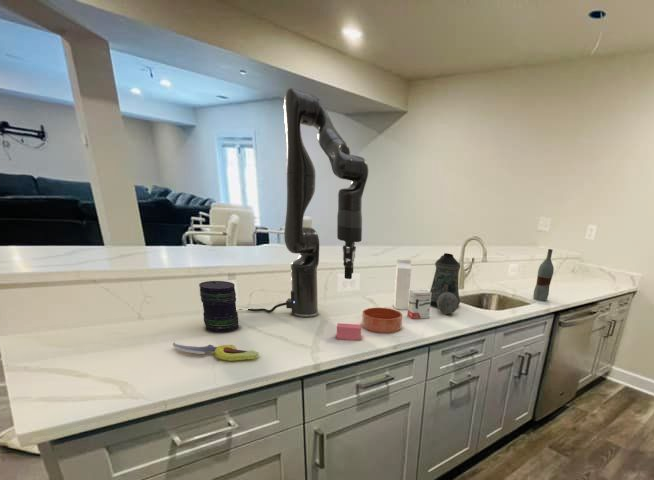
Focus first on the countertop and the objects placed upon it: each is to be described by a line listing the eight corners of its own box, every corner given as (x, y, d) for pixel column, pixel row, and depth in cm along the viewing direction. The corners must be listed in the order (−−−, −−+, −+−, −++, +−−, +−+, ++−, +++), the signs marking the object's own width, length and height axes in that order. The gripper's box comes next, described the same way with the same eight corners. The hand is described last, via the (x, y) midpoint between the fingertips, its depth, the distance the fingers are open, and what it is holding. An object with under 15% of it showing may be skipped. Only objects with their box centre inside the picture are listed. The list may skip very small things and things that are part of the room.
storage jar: (243, 330, 129) (239, 287, 124) (210, 335, 123) (204, 289, 117) (233, 321, 135) (228, 280, 130) (200, 325, 128) (194, 281, 123)
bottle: (548, 302, 231) (559, 251, 219) (533, 300, 230) (544, 249, 219) (545, 298, 239) (556, 249, 228) (531, 296, 239) (541, 247, 227)
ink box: (412, 319, 165) (414, 292, 161) (407, 315, 169) (409, 289, 164) (429, 318, 170) (432, 292, 165) (424, 314, 174) (426, 289, 169)
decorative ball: (457, 312, 185) (459, 291, 181) (456, 317, 175) (458, 296, 171) (436, 309, 184) (439, 288, 181) (434, 315, 175) (436, 293, 171)
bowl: (361, 332, 143) (361, 318, 141) (362, 319, 156) (363, 306, 154) (402, 334, 146) (403, 320, 144) (400, 321, 160) (401, 309, 158)
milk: (408, 309, 178) (411, 261, 169) (394, 308, 176) (398, 260, 167) (406, 305, 183) (410, 259, 174) (393, 305, 181) (396, 258, 172)
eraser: (336, 339, 133) (336, 326, 132) (337, 335, 137) (337, 323, 135) (360, 340, 135) (360, 328, 134) (360, 336, 139) (361, 324, 137)
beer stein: (442, 311, 183) (448, 258, 173) (416, 300, 194) (420, 250, 184) (466, 307, 194) (472, 257, 185) (439, 297, 206) (444, 250, 196)
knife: (159, 354, 106) (251, 365, 107) (157, 345, 105) (250, 356, 106) (178, 344, 113) (264, 354, 115) (177, 336, 112) (263, 346, 114)
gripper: (339, 221, 127) (339, 270, 133) (335, 225, 114) (335, 279, 120) (362, 224, 128) (361, 272, 135) (361, 228, 116) (359, 281, 122)
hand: (349, 275), depth 127 cm, fingers open, 8 cm apart
